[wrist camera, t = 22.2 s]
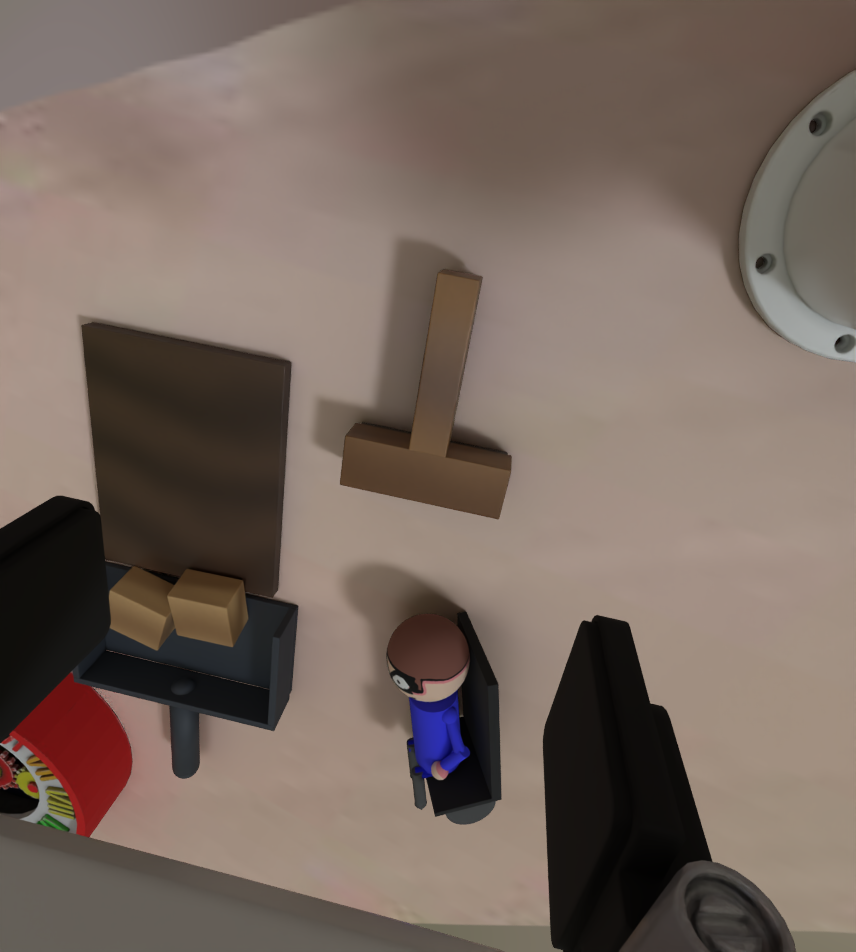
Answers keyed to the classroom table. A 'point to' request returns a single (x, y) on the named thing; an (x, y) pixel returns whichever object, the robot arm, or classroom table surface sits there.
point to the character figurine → (449, 715)
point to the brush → (433, 423)
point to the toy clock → (65, 761)
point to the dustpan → (189, 693)
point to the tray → (188, 454)
